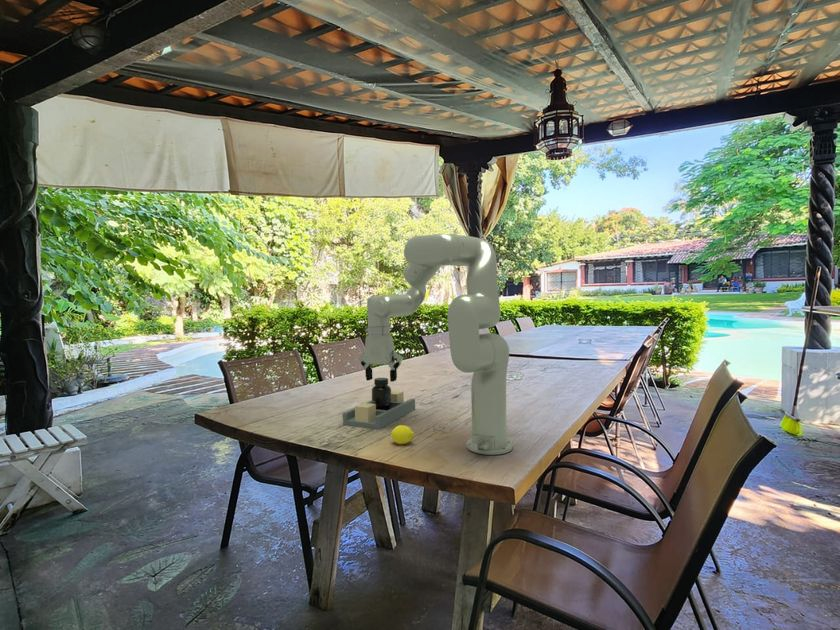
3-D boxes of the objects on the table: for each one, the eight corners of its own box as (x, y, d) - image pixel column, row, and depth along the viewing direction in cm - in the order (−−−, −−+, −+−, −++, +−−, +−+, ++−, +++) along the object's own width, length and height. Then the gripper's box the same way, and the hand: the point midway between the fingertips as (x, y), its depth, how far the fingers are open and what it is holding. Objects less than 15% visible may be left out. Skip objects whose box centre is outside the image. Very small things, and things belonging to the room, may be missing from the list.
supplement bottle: (368, 414, 154) (367, 380, 154) (377, 409, 161) (376, 376, 160) (386, 415, 152) (385, 381, 151) (394, 410, 158) (394, 377, 158)
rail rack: (379, 429, 142) (378, 409, 142) (343, 424, 148) (342, 405, 148) (415, 409, 165) (414, 392, 165) (382, 406, 171) (382, 389, 171)
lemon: (389, 447, 127) (386, 428, 127) (395, 441, 132) (392, 423, 132) (412, 446, 125) (409, 427, 124) (418, 440, 130) (415, 421, 130)
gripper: (352, 332, 155) (354, 381, 156) (395, 332, 148) (398, 383, 149) (363, 331, 162) (366, 377, 163) (406, 330, 155) (408, 379, 155)
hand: (381, 380), depth 156 cm, fingers open, 9 cm apart
